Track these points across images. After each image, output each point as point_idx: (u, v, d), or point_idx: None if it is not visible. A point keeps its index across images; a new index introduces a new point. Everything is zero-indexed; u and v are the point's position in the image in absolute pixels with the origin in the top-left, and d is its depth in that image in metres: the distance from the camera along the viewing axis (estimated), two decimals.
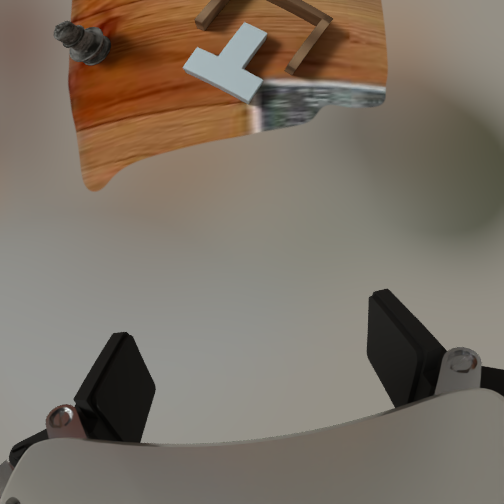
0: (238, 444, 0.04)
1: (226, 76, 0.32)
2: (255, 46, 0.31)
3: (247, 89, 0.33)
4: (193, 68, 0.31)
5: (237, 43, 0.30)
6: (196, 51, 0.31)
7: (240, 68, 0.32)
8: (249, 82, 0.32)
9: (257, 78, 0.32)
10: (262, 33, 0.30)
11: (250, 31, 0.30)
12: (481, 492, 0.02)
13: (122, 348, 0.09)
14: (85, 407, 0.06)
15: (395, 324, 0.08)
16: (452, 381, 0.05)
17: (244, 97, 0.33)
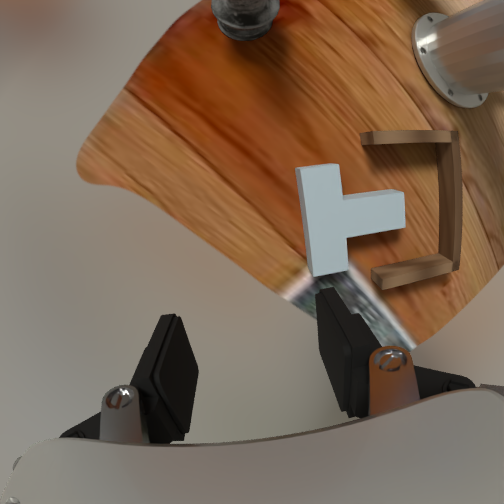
0: (238, 444, 0.04)
1: (325, 230, 0.26)
2: (382, 229, 0.26)
3: (325, 264, 0.27)
4: (307, 184, 0.24)
5: (373, 207, 0.25)
6: (332, 168, 0.24)
7: (345, 237, 0.26)
8: (335, 259, 0.27)
9: (345, 263, 0.27)
10: (402, 223, 0.26)
11: (396, 209, 0.25)
12: (481, 492, 0.02)
13: (174, 328, 0.10)
14: (146, 385, 0.07)
15: (330, 320, 0.09)
16: (385, 381, 0.06)
17: (314, 269, 0.27)
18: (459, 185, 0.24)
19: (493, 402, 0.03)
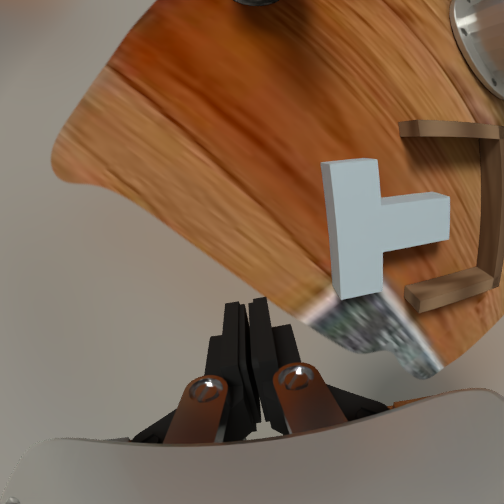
0: (238, 444, 0.04)
1: (358, 243, 0.20)
2: (423, 242, 0.20)
3: (356, 285, 0.21)
4: (338, 184, 0.18)
5: (415, 215, 0.19)
6: (369, 164, 0.18)
7: (381, 251, 0.20)
8: (368, 278, 0.21)
9: (380, 283, 0.21)
10: (445, 234, 0.20)
11: (440, 217, 0.19)
12: (481, 492, 0.02)
13: (243, 315, 0.10)
14: (232, 373, 0.08)
15: (250, 331, 0.09)
16: (298, 400, 0.06)
17: (342, 291, 0.21)
18: None
19: (493, 402, 0.03)
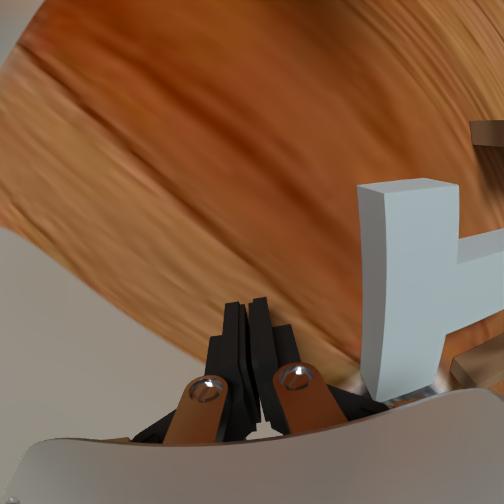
0: (238, 444, 0.04)
1: (414, 327, 0.10)
2: (496, 309, 0.11)
3: (400, 383, 0.12)
4: (397, 231, 0.09)
5: (495, 273, 0.10)
6: (448, 194, 0.09)
7: (444, 334, 0.11)
8: (419, 372, 0.11)
9: (432, 374, 0.12)
10: None
11: None
12: (481, 492, 0.02)
13: (243, 315, 0.10)
14: (232, 374, 0.08)
15: (250, 331, 0.09)
16: (298, 400, 0.06)
17: (379, 393, 0.12)
18: None
19: (493, 402, 0.03)
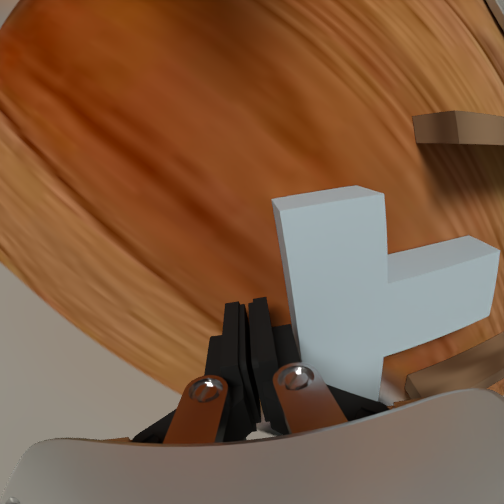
0: (238, 444, 0.04)
1: (339, 350, 0.10)
2: (452, 328, 0.11)
3: None
4: (301, 251, 0.09)
5: (446, 291, 0.10)
6: (368, 205, 0.09)
7: (381, 356, 0.11)
8: (356, 394, 0.11)
9: (374, 396, 0.12)
10: (486, 309, 0.10)
11: (483, 286, 0.10)
12: (481, 492, 0.02)
13: (243, 315, 0.10)
14: (232, 373, 0.08)
15: (250, 331, 0.09)
16: (298, 400, 0.06)
17: None
18: None
19: (493, 402, 0.03)
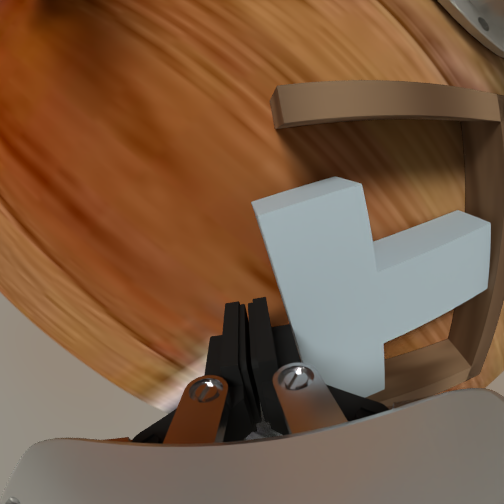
0: (238, 444, 0.04)
1: (337, 342, 0.11)
2: (451, 306, 0.11)
3: None
4: (285, 252, 0.09)
5: (439, 270, 0.10)
6: (347, 197, 0.09)
7: (381, 343, 0.11)
8: (361, 382, 0.12)
9: (380, 381, 0.12)
10: (483, 282, 0.11)
11: (477, 260, 0.10)
12: (481, 492, 0.02)
13: (243, 315, 0.10)
14: (232, 374, 0.08)
15: (250, 332, 0.09)
16: (297, 400, 0.06)
17: None
18: None
19: (493, 402, 0.03)
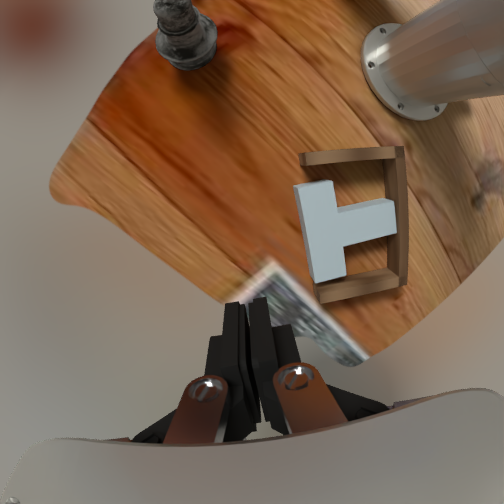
0: (238, 444, 0.04)
1: (323, 241, 0.28)
2: (375, 236, 0.29)
3: (325, 272, 0.29)
4: (305, 201, 0.27)
5: (366, 217, 0.28)
6: (327, 185, 0.27)
7: (342, 246, 0.29)
8: (334, 266, 0.29)
9: (344, 269, 0.30)
10: (393, 229, 0.28)
11: (387, 217, 0.28)
12: (481, 492, 0.02)
13: (243, 315, 0.10)
14: (232, 373, 0.08)
15: (250, 331, 0.09)
16: (298, 400, 0.06)
17: (315, 276, 0.30)
18: (404, 201, 0.27)
19: (493, 402, 0.03)
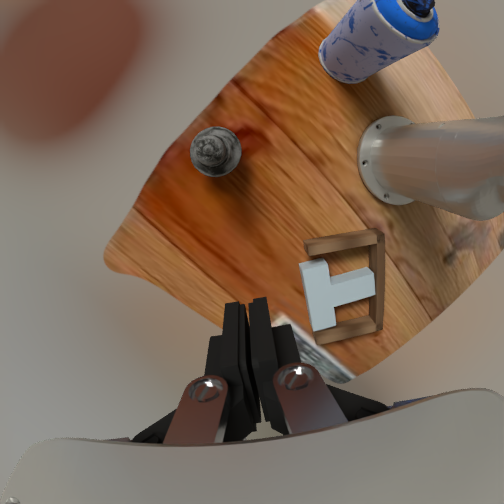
0: (238, 444, 0.04)
1: (319, 304, 0.39)
2: (358, 298, 0.39)
3: (321, 324, 0.40)
4: (307, 278, 0.38)
5: (351, 286, 0.39)
6: (323, 267, 0.38)
7: (333, 306, 0.40)
8: (327, 320, 0.40)
9: (334, 321, 0.40)
10: (372, 292, 0.39)
11: (368, 284, 0.39)
12: (481, 492, 0.02)
13: (243, 315, 0.10)
14: (232, 374, 0.08)
15: (250, 331, 0.09)
16: (298, 400, 0.06)
17: (313, 327, 0.41)
18: (381, 273, 0.38)
19: (493, 402, 0.03)
